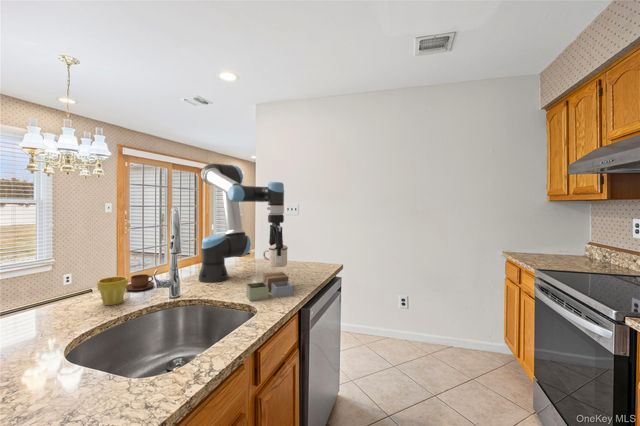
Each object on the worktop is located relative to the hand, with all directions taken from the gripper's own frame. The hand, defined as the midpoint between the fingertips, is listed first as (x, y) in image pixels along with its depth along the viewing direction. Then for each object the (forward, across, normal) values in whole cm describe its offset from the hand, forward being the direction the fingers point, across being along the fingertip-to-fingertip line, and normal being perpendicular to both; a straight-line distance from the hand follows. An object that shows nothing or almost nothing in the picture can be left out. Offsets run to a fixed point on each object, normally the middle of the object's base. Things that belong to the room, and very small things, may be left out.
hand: (275, 260), depth 144 cm
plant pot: (+14, -7, -68) cm, 69 cm away
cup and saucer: (+14, -25, -60) cm, 67 cm away
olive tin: (+14, +10, -11) cm, 21 cm away
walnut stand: (+14, 0, 0) cm, 14 cm away
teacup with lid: (+3, -1, 0) cm, 3 cm away
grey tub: (+14, +9, 0) cm, 17 cm away
